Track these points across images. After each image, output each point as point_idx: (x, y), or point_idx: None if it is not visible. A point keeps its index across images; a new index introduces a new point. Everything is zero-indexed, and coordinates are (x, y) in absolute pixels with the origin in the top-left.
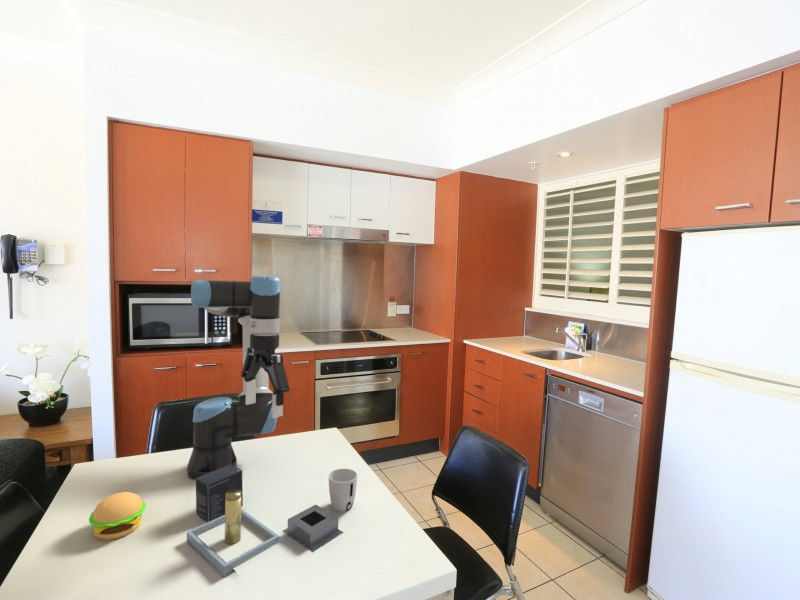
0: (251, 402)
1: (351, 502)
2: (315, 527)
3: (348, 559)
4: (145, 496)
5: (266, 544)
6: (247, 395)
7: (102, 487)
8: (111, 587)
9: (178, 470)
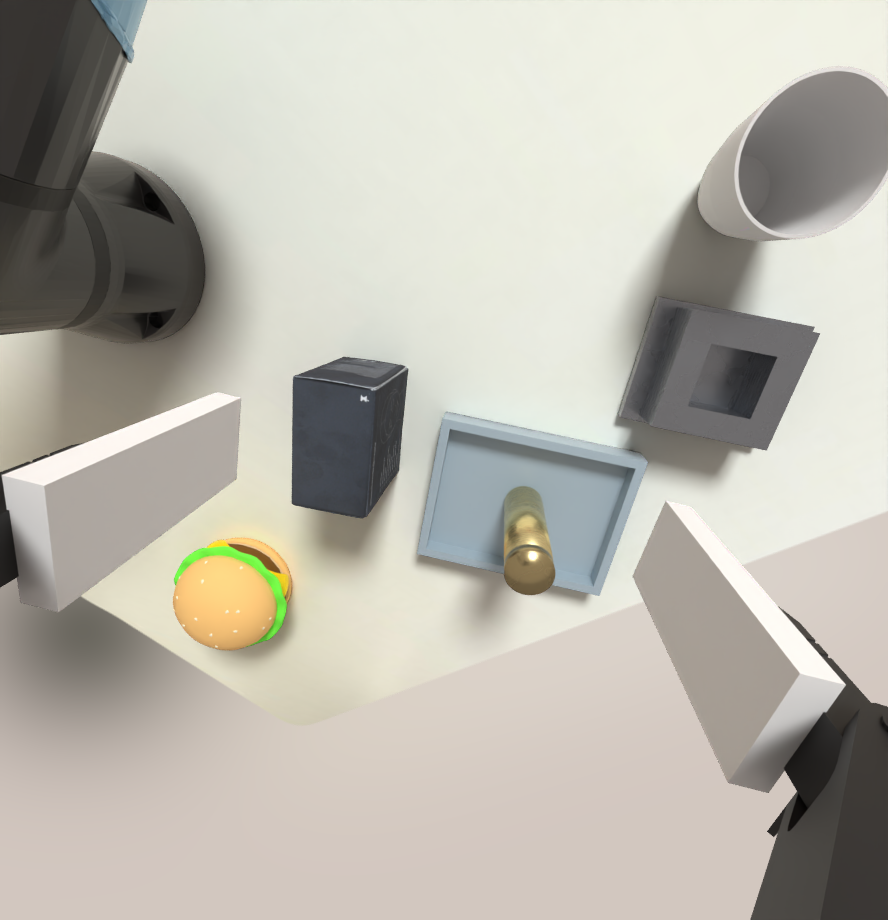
0: (231, 442)
1: (806, 189)
2: (764, 417)
3: (865, 406)
4: None
5: (634, 498)
6: (184, 515)
7: None
8: (424, 670)
9: None
